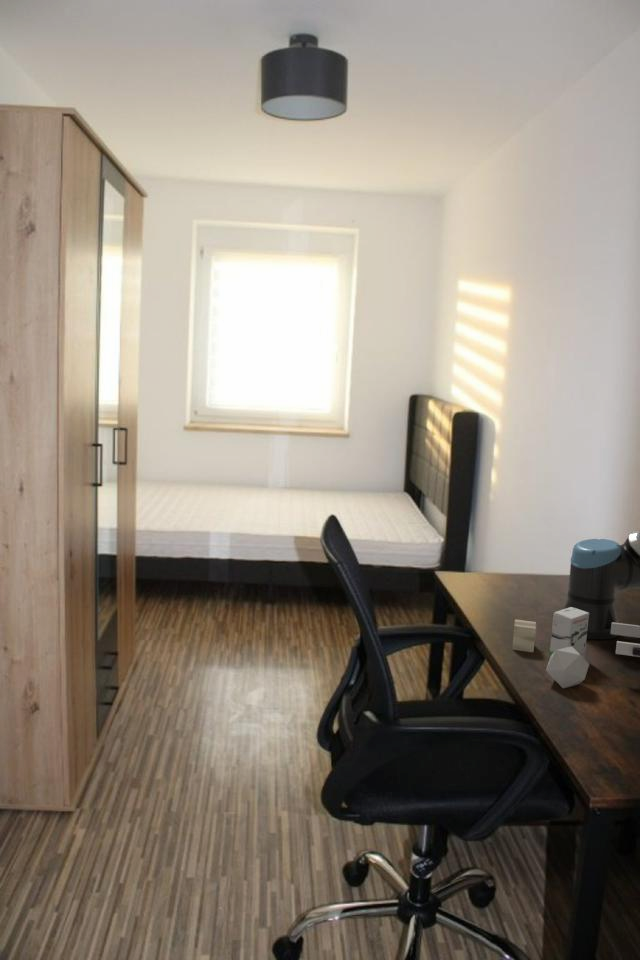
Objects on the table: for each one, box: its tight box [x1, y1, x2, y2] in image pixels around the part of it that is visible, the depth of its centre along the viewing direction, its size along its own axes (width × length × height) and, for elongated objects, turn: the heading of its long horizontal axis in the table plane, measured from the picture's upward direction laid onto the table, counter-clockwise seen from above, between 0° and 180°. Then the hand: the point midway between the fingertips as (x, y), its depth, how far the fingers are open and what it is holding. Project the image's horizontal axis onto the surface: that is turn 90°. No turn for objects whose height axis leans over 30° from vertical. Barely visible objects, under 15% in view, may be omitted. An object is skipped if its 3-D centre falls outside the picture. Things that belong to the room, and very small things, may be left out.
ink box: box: [548, 607, 589, 661], centre depth 193 cm, size 9×5×12 cm, turn 134°
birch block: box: [511, 619, 537, 653], centre depth 201 cm, size 5×5×6 cm
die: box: [545, 646, 590, 689], centre depth 180 cm, size 8×9×10 cm
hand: (613, 637), depth 191 cm, fingers open, 13 cm apart
